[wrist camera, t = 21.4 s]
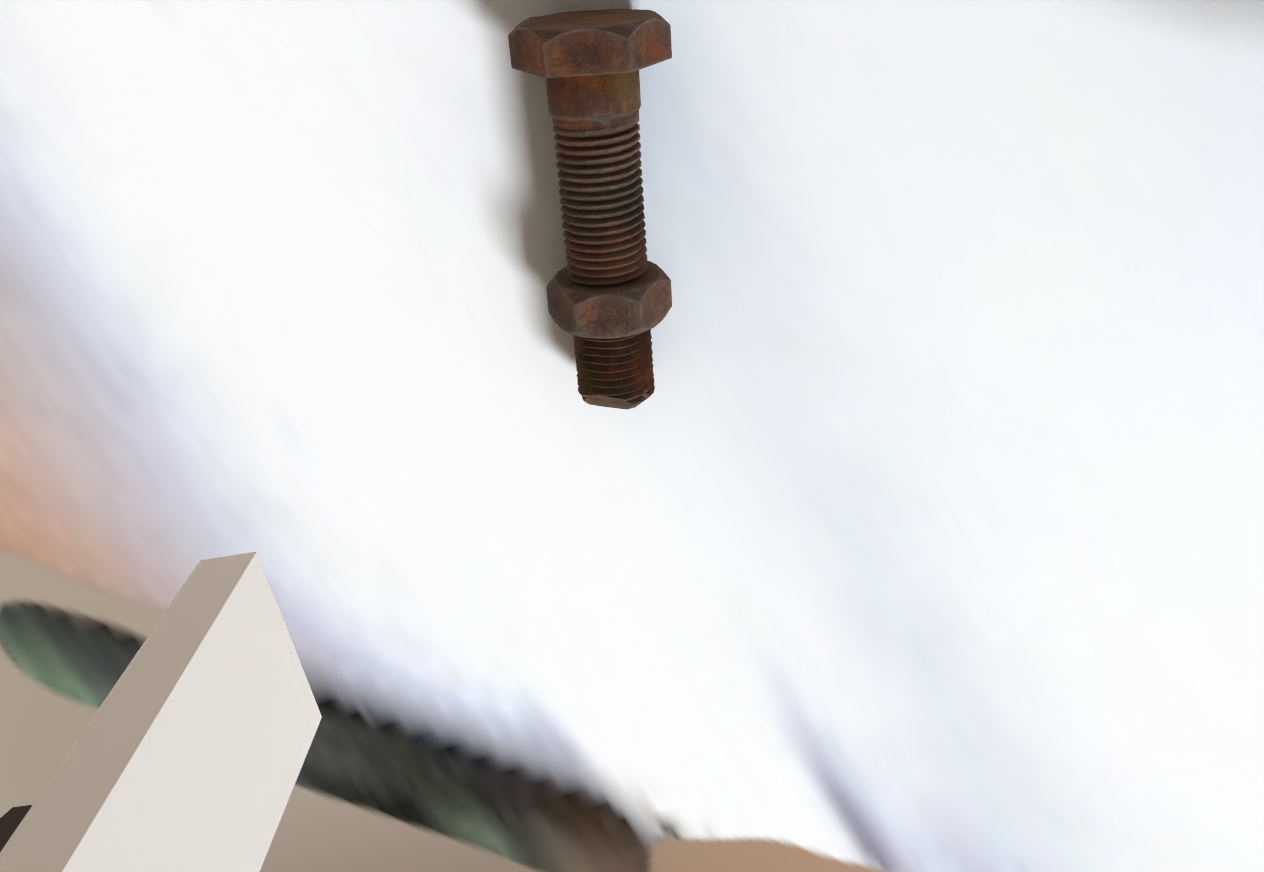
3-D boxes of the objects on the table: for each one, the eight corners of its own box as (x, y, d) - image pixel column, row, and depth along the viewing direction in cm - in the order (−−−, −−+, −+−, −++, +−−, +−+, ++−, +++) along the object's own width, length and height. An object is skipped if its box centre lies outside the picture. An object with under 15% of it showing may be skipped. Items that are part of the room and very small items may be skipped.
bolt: (602, 361, 49) (573, 6, 42) (702, 380, 46) (689, 7, 39) (528, 415, 45) (481, 29, 37) (633, 439, 42) (605, 31, 35)
